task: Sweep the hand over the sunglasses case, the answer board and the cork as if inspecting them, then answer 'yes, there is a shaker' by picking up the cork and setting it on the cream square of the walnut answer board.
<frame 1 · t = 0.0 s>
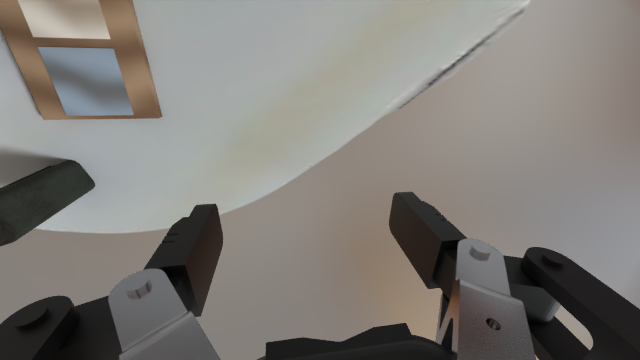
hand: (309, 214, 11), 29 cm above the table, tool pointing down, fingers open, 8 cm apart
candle: (72, 177, 37), on the table
answer board: (82, 43, 30), on the table
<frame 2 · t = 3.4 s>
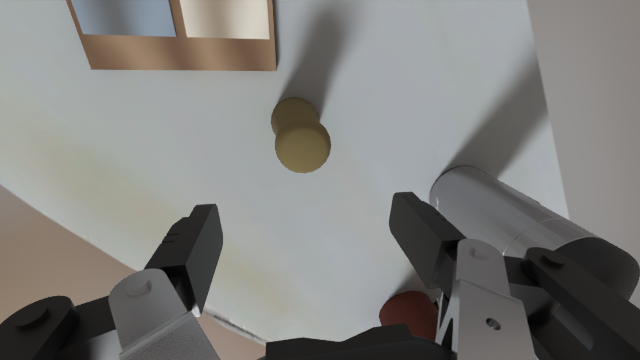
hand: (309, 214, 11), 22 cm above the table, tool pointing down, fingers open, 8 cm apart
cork: (295, 121, 31), on the table
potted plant: (413, 299, 52), on the table
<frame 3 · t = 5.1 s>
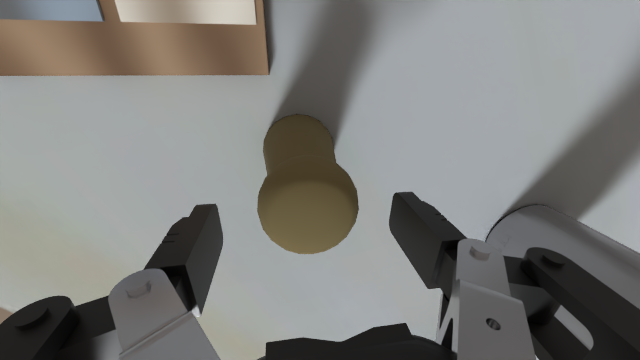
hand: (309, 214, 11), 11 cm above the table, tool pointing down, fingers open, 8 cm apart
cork: (298, 149, 21), on the table
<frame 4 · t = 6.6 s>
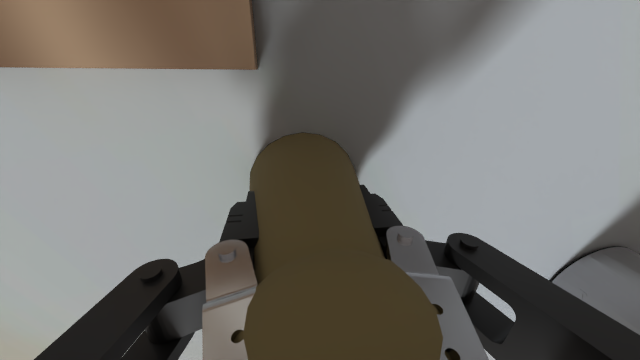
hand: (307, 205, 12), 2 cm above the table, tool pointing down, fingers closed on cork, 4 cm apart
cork: (303, 182, 14), on the table, touching gripper
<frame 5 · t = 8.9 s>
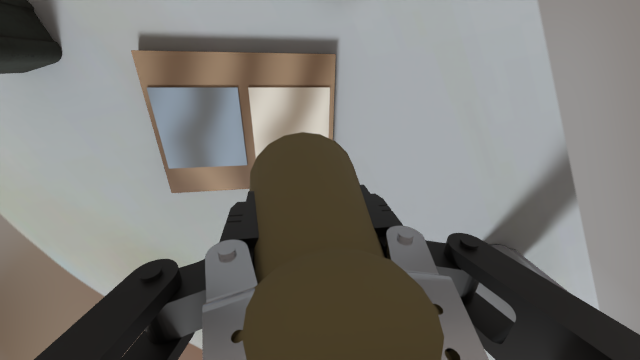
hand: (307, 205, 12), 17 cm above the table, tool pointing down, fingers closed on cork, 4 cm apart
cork: (303, 182, 14), point 14 cm above the table, touching gripper
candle: (19, 35, 21), on the table
answer board: (249, 125, 26), on the table
when the fingers open (5 cm above the table, at t = 11.4 s): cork stays where it is, resting on answer board.
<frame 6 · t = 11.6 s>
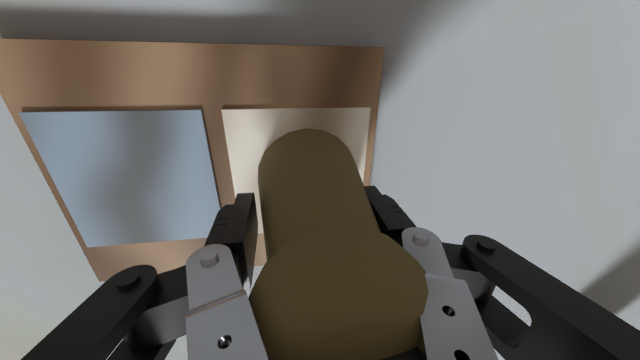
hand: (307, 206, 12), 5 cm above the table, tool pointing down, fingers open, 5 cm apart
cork: (307, 176, 15), point 1 cm above the table, touching answer board, gripper
answer board: (228, 170, 15), on the table
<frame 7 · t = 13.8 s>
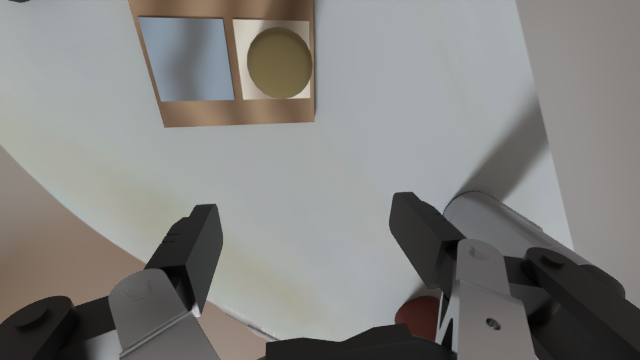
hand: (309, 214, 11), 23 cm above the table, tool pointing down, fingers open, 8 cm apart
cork: (278, 62, 28), point 1 cm above the table, touching answer board
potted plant: (426, 304, 56), on the table
answer board: (235, 61, 28), on the table
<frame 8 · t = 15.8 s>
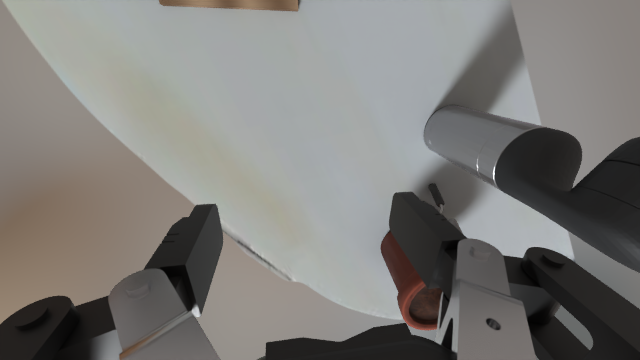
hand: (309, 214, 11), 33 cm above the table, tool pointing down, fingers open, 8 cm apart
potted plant: (411, 234, 58), on the table
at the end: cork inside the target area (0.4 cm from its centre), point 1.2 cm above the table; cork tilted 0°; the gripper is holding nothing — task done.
